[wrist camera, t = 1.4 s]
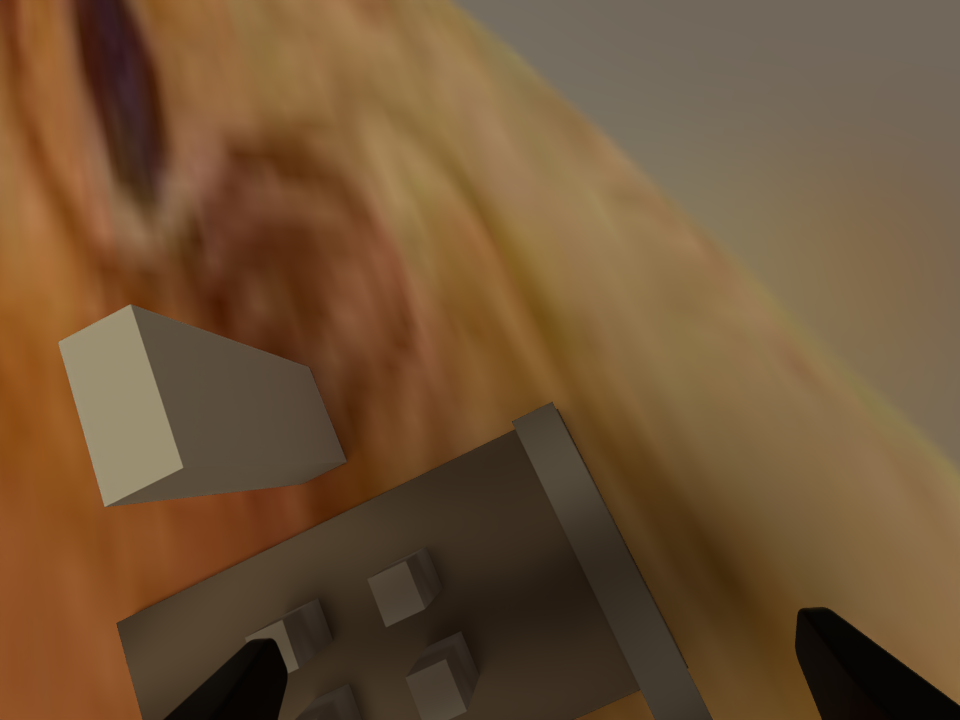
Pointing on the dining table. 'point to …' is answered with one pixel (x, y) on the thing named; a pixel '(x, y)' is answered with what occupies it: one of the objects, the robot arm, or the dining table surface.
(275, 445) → the rectangular block
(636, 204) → the dining table surface
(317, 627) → the stand
